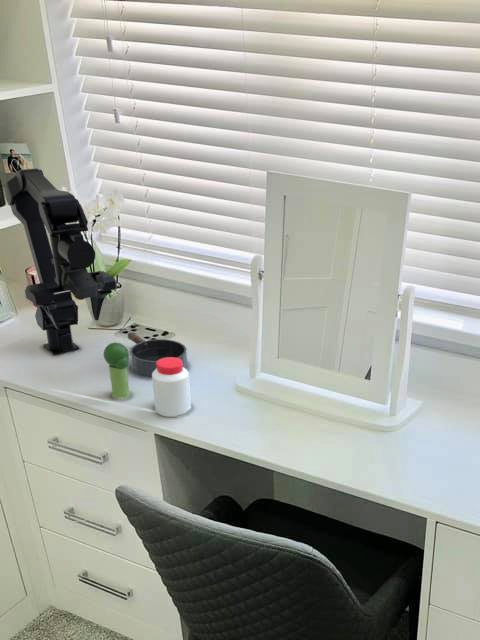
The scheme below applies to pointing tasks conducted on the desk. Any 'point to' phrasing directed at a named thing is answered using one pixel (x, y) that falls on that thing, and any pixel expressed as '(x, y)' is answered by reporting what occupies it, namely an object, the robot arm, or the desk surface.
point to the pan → (155, 355)
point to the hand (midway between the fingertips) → (77, 324)
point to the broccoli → (118, 369)
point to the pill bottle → (171, 387)
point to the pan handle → (136, 339)
